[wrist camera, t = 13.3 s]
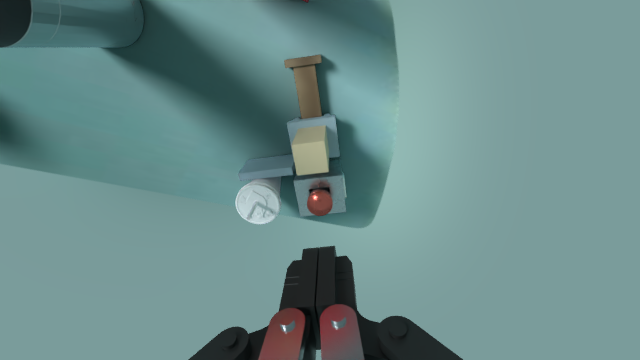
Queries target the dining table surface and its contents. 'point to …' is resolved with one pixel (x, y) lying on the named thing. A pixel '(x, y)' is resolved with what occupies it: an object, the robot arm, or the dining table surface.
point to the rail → (306, 85)
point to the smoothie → (260, 200)
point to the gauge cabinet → (322, 180)
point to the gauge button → (320, 201)
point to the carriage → (299, 150)
